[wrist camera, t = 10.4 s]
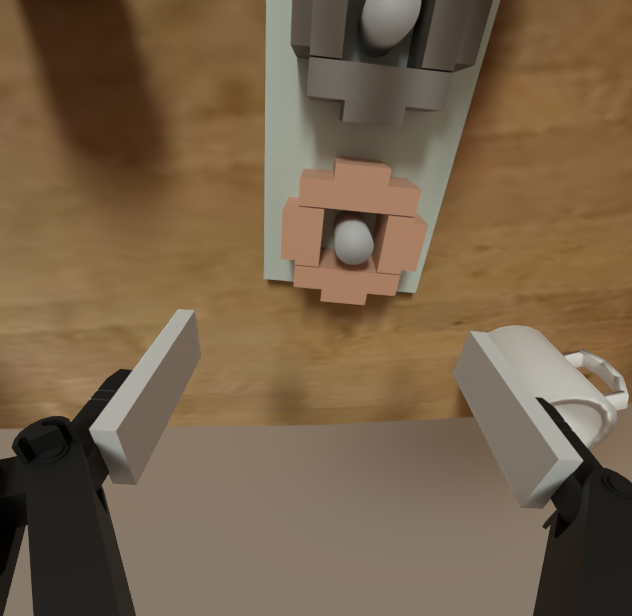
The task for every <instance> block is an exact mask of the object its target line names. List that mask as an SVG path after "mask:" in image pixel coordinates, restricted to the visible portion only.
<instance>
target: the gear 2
mask: <svg viewBox="0 0 632 616" xmlns="http://www.w3.org/2000/svg"><path fill="white" fill-rule="evenodd" d="M390 175H391V168H390V167H389V166H387V165H386V164H385V163H383V162H382V161H379V160H369V159H360V158H350V157H340V156H334V163H333V171H327V170H317V169H307V168H304V169H303V172H302V174H301V177H300V187H299V198H297V197H288V200H287V202H286V204H285V206H284V208H283V210H282V238H281V259H286V260H295V270H294V286H293V287H301V288H312V289H321V301H324V302H335V303H346V304H357V305H365V301H366V296H367V294H377V295H388V296H395V294H396V290H397V286H398V282H399V278H400V274H401V270H404V271H414V272H416V268H417V265H418V261H419V257H420V254H421V250H422V246H423V243H424V239H425V236H426V232H427V228H428V224H427V223H426V222H425V221H424V220H423V219H422V218H421V217H420V216H419V215H418V213H417V212H416V210H417V206H418V203H419V199H420V195H421V191H422V190H421V189H420V188H419V187H417V186H416V185H415V184H413V183H412V182H411V181H409V180H408V179H406V178H396V177H390ZM324 208H329V209H339V210H350V211H360V212H370V213H377V216H376V222H375V227H374V232H373V237H372V239H373V243H374V248H373V252H372V254H371V256H370V257H369V258H368V259H367V260H366V261H365V262H363V263H361V264H357V265H350V264H346V263H344V262H342V261H341V260H340V259H339V258H338V256H337V254H336V251H335V249H332V248H321V237H322V227H323V217H324Z"/></svg>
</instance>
